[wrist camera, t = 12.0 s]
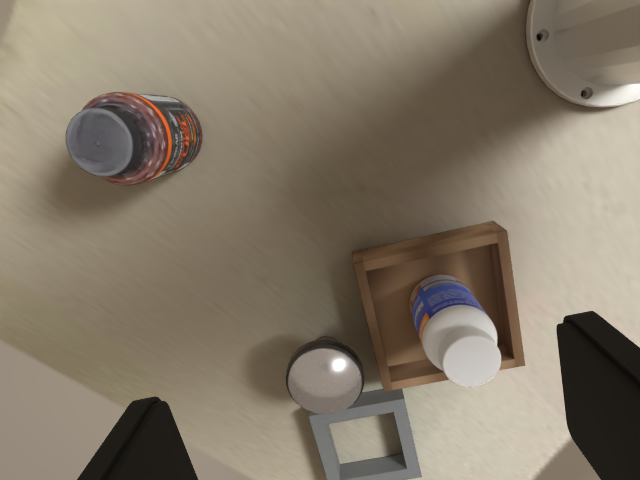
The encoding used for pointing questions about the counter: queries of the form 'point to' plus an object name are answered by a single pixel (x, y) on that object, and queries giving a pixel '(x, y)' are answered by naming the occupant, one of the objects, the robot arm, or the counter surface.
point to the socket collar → (375, 474)
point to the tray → (418, 264)
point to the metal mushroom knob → (325, 376)
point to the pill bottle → (455, 330)
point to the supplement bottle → (133, 137)
